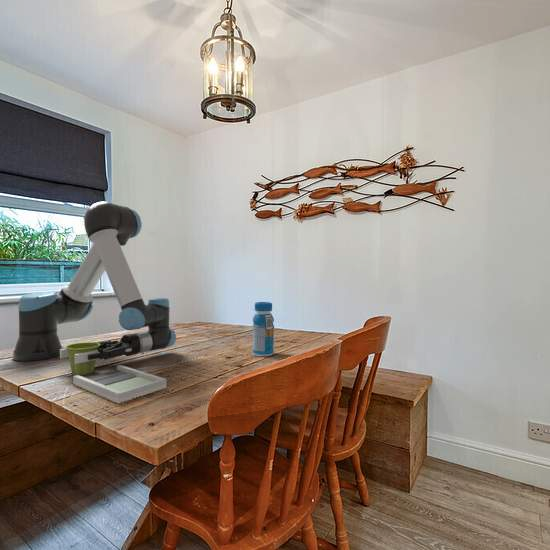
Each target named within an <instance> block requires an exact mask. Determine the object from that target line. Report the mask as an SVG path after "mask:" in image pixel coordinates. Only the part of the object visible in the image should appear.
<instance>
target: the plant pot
mask: <svg viewBox="0 0 550 550" xmlns="http://www.w3.org/2000/svg"><path fill="white" fill-rule="evenodd" d="M99 346H100V344H99V343H97V342H93V341H92V342H89V341H88V342H75V343H71V344H67V345H66V346H65V349H67V351H68V353H69V357H68V358H69V363H70V372H71V375H73V376H75V375H79V376H85V375H90V374H92V373H93V372H95V366H96V361H97V360H92V361H87V362H83V363H78V364H75V354H79V353H85V352H90V351H95V350H98V347H99Z"/></svg>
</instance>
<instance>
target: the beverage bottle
mask: <svg viewBox="0 0 550 550" xmlns="http://www.w3.org/2000/svg"><path fill="white" fill-rule="evenodd" d="M254 311H255V314H254V315H253V317H252V322H253V324H252V355H253V356H257V357H269V356H272V355H274V353H275V351H274V343H275V341H274V337H275V336H274V335H275V334H274V333H275V332H274V331H275V324H274V321H275V319H274V317H273V314H272V311H273V303H272V302H270V301H256V302H255V303H254Z"/></svg>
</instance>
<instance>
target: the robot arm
mask: <svg viewBox="0 0 550 550" xmlns="http://www.w3.org/2000/svg"><path fill="white" fill-rule="evenodd" d="M83 223H84V224H83V226H84V230H85V233H86V235H87V238H88V240H89V242H91V243H92V245H91V247H90V249H89V250H88V252H87V254H86V255H85V257H84V259H83V260H82V263H81V264H80V266H79V268H78V269H77V271H76V272H75V274H74V276H73V277H72V280H71V281H70V283H68V284H64V285H63V286H62V288H61V290H60V291H59V293H57V292H55V291H40V292H34V293H33V292H32V293H26V294H24V295H22V296H21V297H20V298H19V300H18V301H19V302H18V339H17V342H16V345H15V347H14V350H13V353H12V360H14V361H19V362H20V361H21V362H26V361H27V362H30V361H40V360H41V361H42V360H46V359H47V360H48V359H51V358H56V357H59V359H61V360H62V359H66V358H69V353H68V351H67V349H66V348H63V346H62V344H61V341H60V337H59V335H58V325H61V324H68V323H75V322H76V323H77V322H79V321H81V320H84V319H86V318H87V317H89V316H90V315H91V313H92V311H93V308H94V305H93V299H94V298H93V294H92V293H93V291H94V289H95V288H96V286H97V285H98V283H99V281H100V279H101V278H102V276H103V275H104V273H106V275H107V278H108V280H109V283H110V285H111V287H112V290H113V292H114V294H115V297H116V300H117V302H118V305H119V307H120V309H121V311H120V312H119V315H118V323H119V325H120V327H121V328H122V329H123V330H127V331H134V330H141V329H143V328H146V327H147V328H148V330H147V331H139V332H134V333H128V334H124V335H122V337H121V338H120V340H118V339H117V340H113V341H112V340H109V339H108V340H105V341H99V342H98V341H97V342H96V343H99V344H100V346H99V347H98V350H95V351H90V352H85V353H79V354H75V364H78V363H83V362H87V361H92V360H96V361H97V360H105V361H108V360H110V359H114V358H118V357H120V356H125V357H130V356H136V355H139V354H141V355H144V354H145V353H149V352H153V351H158V350H159V351H160V350H165V349H166V348H171V347H172V346H174V345H175V343H176V341H177V334H176V332H175V330H174V329H173V328H172V327H170V308H171V307H170V301H169V298H166V297H151V298H149V299H148V303H147V304H145V301H144V299H143V297H142V295H141V291H140V289H139V288H138V284H137V283H136V280H135V277H134V276H133V275H134V274H133V272H132V271H131V268H130V265H129V264H128V261H127V259H126V256H125V254H124V251H123V249H122V247H123V246H126V245H127V242H128V241H129V239H132V238H135V237H137V236H138V235H139V234H140V233H141V230H142V227H143V225H142V221H141V217H140V215H139V214H138V212H137V211H136V210H134V209H132V208H130V207H128V206H122V205H119V204H114V203H112V202H108V201H99V202H96V203H93V204H92V205H90V206H89V207H88V209H87V210H86V212H85V213H84V220H83Z"/></svg>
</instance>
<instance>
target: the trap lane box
mask: <svg viewBox="0 0 550 550" xmlns="http://www.w3.org/2000/svg"><path fill="white" fill-rule="evenodd" d="M72 379H73V381H72V382H73V385H74V384H75V385H74V386H76V385H77V386H76V387H78V386H79V387H78V388H80V387H82V388H81V389H83V388H84V389H83V390H85V389H87V390H89V391H88V392H90V391H91V392H90V393H92V392H93V394H94V393H96V394H95V395H97V394H98V395H97V396H99V395H100V397H101V396H102V397H101V398H104V397H105V399H106V398H107V399H106V400H108V399H109V400H108V401H111V402H114V403H115V402H116V404H118V403H119V404H122V403H125V402H128V401H130V400H134V399H136V397H137V398H140V397H142V396H145V395H149V394H152V393H155V392H158V391H161V390H163V389H164V390H165V389H166V388H167V378H165V377H161V376H157V375H155V374H151V373H148V372H145V371H142V370H138V369H134V368H132V367H129V366H125V365H122V364H119V365H116V369H115V370H110V371H107V372H102V373H98V374H95V375H90V376H87V377H84V376H83V375H79V374H77V375H73V377H72ZM87 390H86V391H87ZM139 396H140V397H139ZM133 398H134V399H133ZM124 401H125V402H124ZM121 402H122V403H121Z"/></svg>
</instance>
